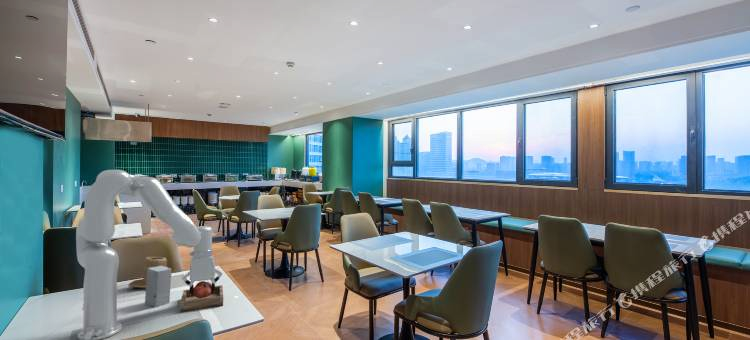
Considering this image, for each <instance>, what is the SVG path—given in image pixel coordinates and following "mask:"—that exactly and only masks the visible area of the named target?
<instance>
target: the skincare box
mask: <svg viewBox="0 0 750 340" xmlns="http://www.w3.org/2000/svg"><path fill="white" fill-rule="evenodd" d="M171 282H172V268H170V267H168V266H166V267H164V266H157V267H152V268H148V269H147V283H146V288H145V296H144V297H145V298H144V305H149V306H151V307H154V308H158V307H160V306H164V305H166V304H169V303H170V298H171V286H172V285H171V284H172V283H171Z"/></svg>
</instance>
